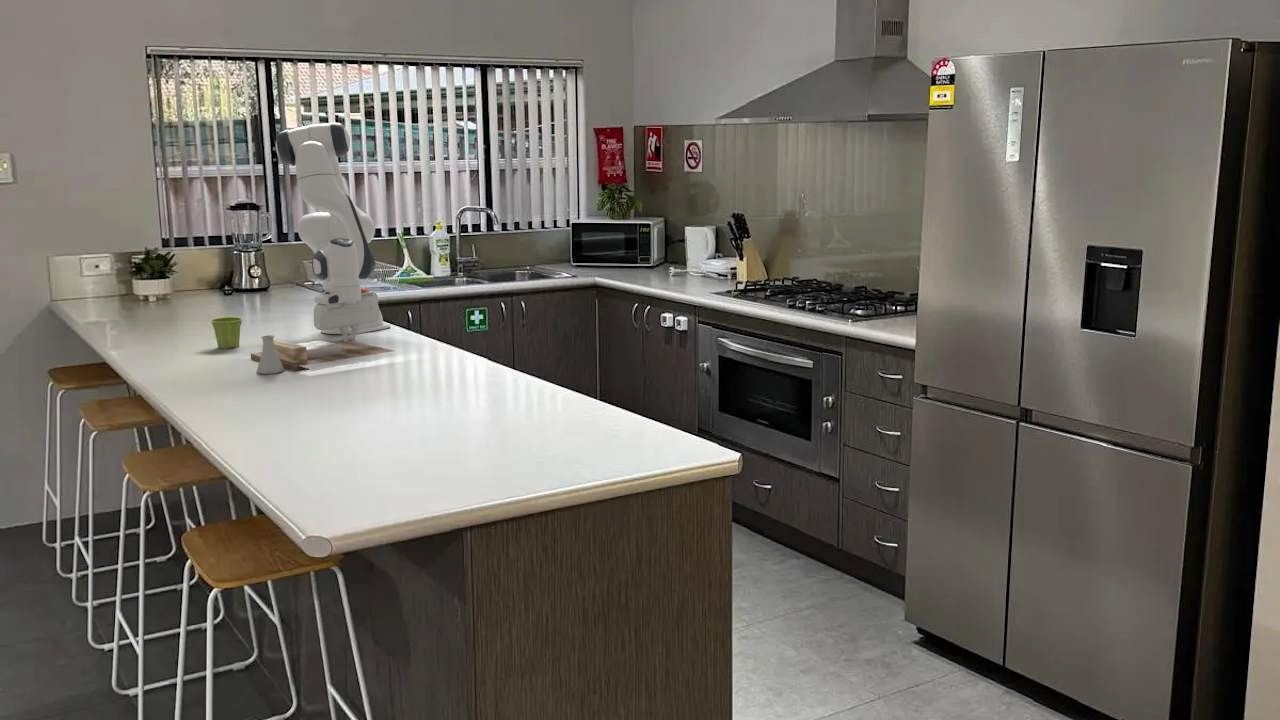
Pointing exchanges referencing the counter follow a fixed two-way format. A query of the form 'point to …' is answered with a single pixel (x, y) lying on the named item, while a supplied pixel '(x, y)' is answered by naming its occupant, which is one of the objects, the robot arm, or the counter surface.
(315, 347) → the aluminium plate
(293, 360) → the bar
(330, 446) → the counter surface
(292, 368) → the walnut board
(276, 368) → the flask
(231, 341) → the plant pot
